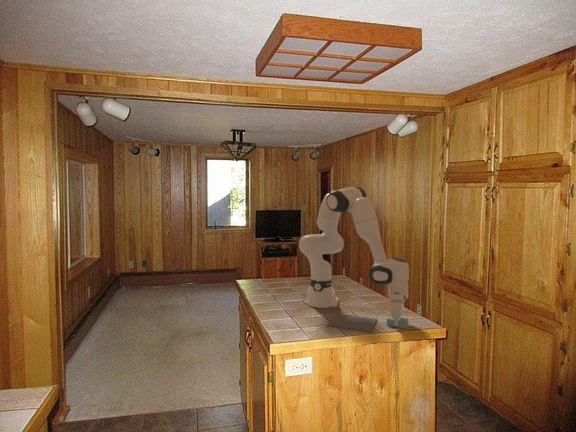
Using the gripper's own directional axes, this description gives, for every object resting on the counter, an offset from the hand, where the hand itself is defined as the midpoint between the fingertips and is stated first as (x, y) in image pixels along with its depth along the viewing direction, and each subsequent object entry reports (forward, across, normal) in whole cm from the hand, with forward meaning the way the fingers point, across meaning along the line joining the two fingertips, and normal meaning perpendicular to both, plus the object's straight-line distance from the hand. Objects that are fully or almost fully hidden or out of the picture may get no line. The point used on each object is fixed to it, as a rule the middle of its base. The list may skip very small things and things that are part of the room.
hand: (397, 322), depth 178 cm
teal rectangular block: (+2, 0, 0) cm, 2 cm away
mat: (+2, +5, -20) cm, 21 cm away
